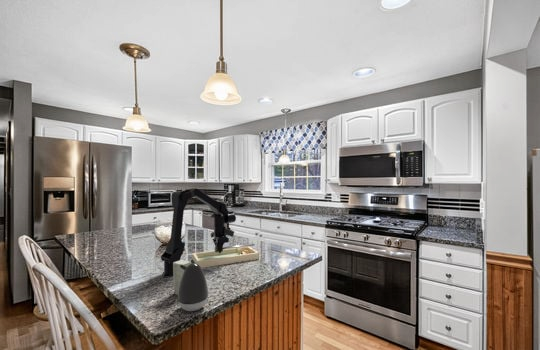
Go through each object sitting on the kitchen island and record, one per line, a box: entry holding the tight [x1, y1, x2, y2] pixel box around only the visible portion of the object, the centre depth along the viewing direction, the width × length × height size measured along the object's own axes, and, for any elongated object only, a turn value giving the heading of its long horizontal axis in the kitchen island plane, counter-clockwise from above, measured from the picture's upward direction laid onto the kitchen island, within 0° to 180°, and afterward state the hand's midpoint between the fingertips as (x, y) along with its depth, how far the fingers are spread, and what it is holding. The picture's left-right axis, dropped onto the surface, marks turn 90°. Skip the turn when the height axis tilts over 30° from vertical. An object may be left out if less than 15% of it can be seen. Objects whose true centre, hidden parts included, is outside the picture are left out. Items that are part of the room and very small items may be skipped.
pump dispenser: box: [177, 262, 209, 312], centre depth 87 cm, size 10×10×15 cm
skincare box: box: [172, 259, 192, 295], centre depth 99 cm, size 6×4×12 cm
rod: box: [214, 243, 256, 255], centre depth 146 cm, size 3×24×6 cm, turn 115°
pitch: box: [192, 246, 260, 269], centre depth 142 cm, size 16×34×4 cm, turn 115°
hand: (219, 252), depth 142 cm, fingers closed on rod, 3 cm apart
